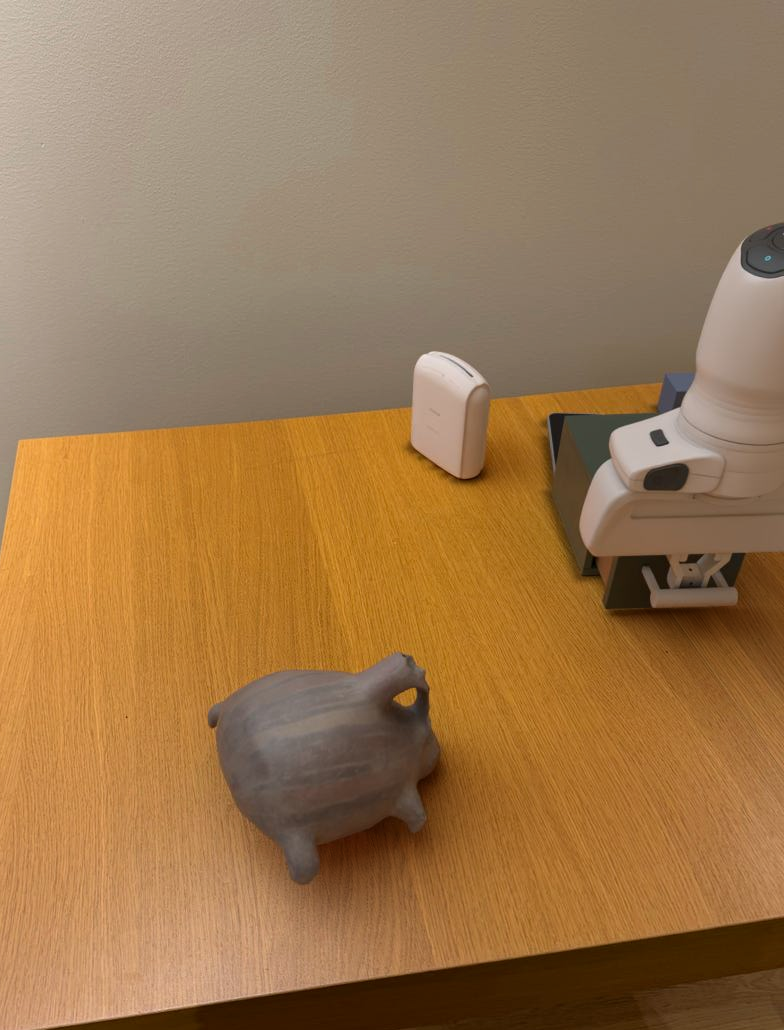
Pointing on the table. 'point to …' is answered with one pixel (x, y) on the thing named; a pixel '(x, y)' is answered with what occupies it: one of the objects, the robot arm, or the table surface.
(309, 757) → the piggy bank
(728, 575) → the drawer
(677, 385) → the block
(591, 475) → the cabinet
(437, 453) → the photo printer
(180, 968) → the table surface
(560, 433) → the smartphone
